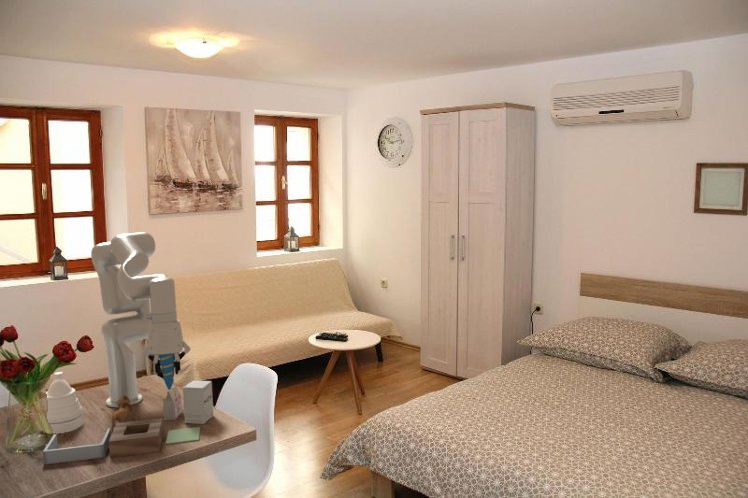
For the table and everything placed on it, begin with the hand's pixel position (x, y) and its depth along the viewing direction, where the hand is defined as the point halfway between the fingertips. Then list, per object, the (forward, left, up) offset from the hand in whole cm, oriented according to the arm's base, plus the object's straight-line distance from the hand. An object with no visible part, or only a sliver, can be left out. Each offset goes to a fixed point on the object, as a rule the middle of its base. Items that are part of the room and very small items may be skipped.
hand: (168, 373), depth 198 cm
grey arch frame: (+2, -27, -21) cm, 35 cm away
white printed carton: (-19, -1, -22) cm, 29 cm away
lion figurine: (-14, -18, -22) cm, 31 cm away
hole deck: (+2, -10, -21) cm, 24 cm away
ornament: (0, 0, -6) cm, 6 cm away
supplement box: (-13, +8, -22) cm, 26 cm away
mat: (0, +3, -21) cm, 22 cm away
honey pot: (-21, -37, -22) cm, 48 cm away
